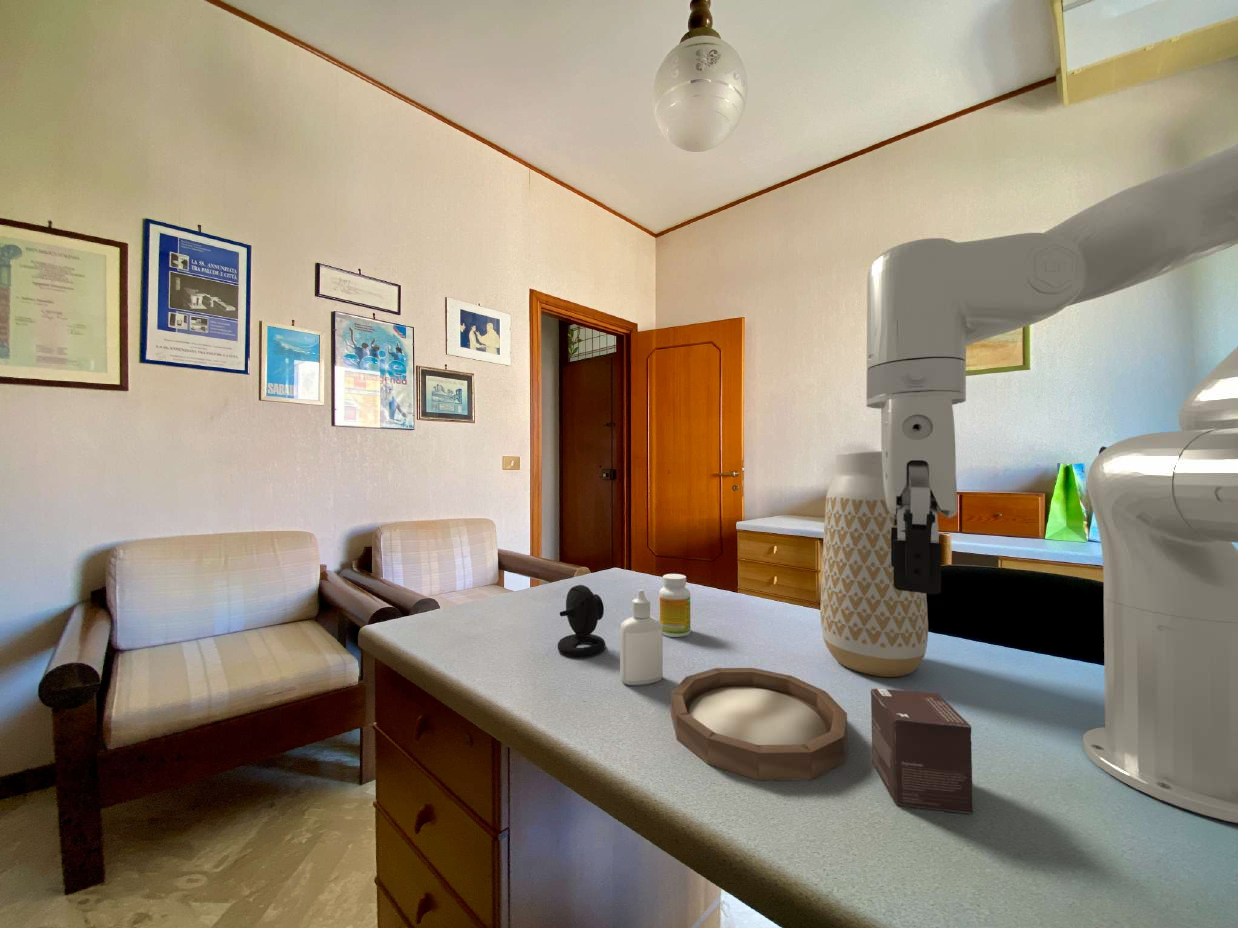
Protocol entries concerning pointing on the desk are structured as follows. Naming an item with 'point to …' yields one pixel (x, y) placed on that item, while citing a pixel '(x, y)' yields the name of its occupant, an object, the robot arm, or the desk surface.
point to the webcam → (582, 623)
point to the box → (922, 750)
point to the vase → (866, 577)
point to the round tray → (759, 723)
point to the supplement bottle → (674, 606)
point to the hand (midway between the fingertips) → (912, 579)
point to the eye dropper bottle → (641, 645)
